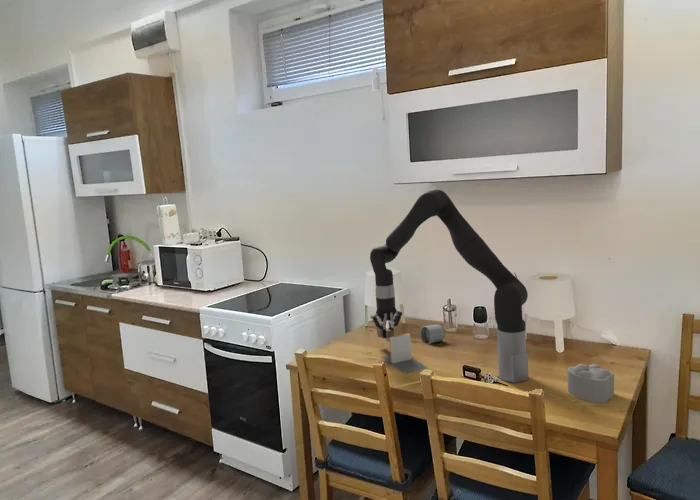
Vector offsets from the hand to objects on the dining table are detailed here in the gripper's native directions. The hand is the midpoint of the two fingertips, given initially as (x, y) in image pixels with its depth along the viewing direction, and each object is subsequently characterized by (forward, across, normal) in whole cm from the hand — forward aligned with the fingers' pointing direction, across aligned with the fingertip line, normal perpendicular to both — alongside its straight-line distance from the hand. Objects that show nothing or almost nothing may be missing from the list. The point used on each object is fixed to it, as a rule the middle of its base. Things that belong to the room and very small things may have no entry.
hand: (387, 337), depth 213 cm
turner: (0, 0, 0) cm, 1 cm away
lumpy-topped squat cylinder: (+8, +38, -66) cm, 77 cm away
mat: (+7, 0, -13) cm, 15 cm away
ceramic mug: (+7, +22, +4) cm, 23 cm away
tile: (+6, 0, -11) cm, 13 cm away
